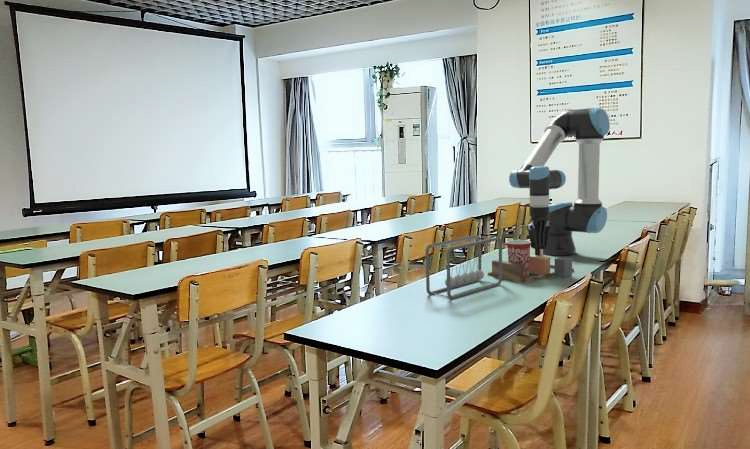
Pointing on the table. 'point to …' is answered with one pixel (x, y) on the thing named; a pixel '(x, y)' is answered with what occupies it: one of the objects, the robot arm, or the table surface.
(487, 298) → the table surface
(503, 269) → the clamp bed
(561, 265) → the lock block
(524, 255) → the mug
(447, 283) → the newton's cradle
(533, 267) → the block
